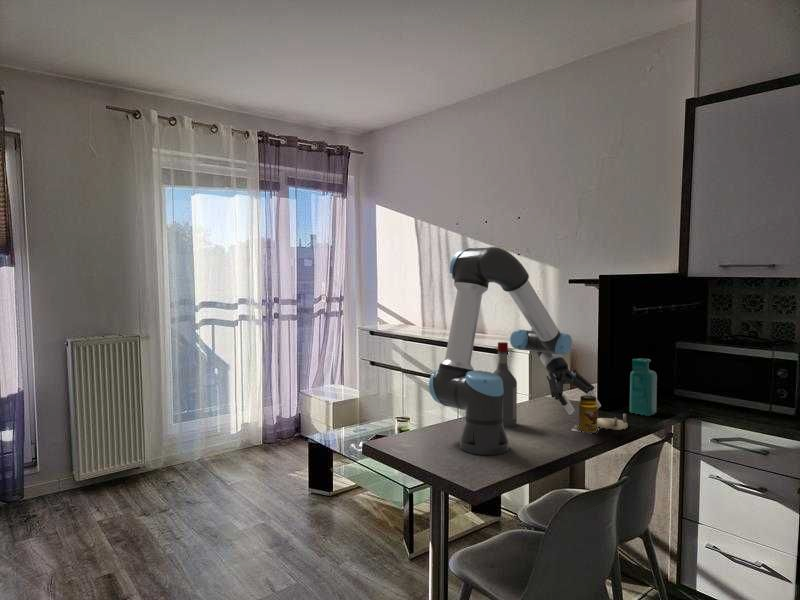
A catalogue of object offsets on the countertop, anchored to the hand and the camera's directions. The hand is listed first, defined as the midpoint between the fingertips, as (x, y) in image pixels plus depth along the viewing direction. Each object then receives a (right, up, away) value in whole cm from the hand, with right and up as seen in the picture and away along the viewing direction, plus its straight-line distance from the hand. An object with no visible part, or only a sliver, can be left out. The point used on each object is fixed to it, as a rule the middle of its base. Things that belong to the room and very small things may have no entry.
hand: (585, 410), depth 187 cm
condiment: (0, -7, -1) cm, 7 cm away
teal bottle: (+31, -6, +23) cm, 39 cm away
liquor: (-28, -7, +6) cm, 30 cm away
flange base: (+11, -7, +5) cm, 13 cm away
